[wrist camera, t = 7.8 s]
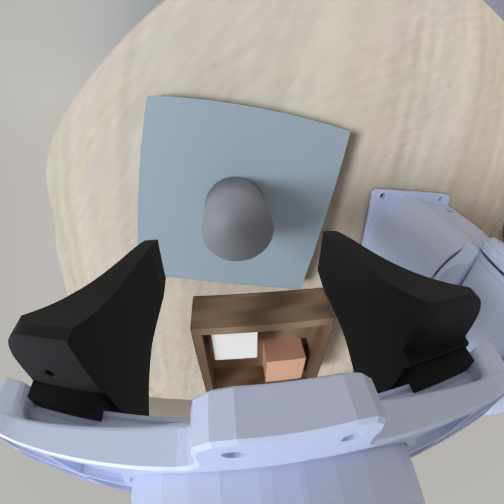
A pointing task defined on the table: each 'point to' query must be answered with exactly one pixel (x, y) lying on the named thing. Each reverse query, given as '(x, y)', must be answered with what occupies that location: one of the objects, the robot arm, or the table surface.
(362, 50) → the table surface
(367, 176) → the table surface
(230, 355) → the off-white block
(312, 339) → the storage box
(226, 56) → the table surface
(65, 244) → the table surface
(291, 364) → the terracotta block
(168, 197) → the lid
